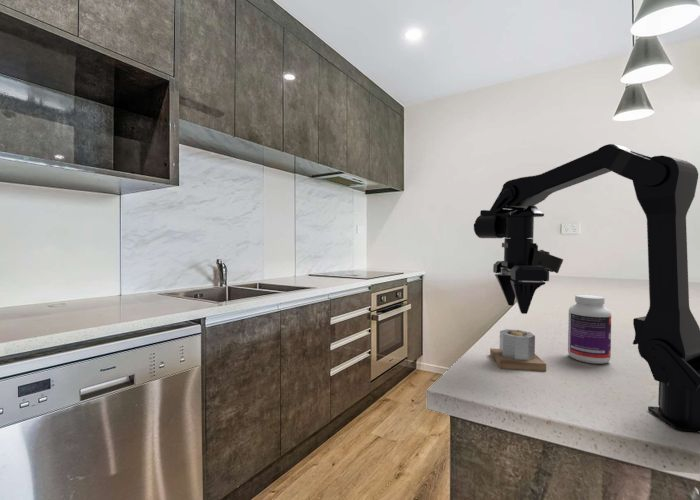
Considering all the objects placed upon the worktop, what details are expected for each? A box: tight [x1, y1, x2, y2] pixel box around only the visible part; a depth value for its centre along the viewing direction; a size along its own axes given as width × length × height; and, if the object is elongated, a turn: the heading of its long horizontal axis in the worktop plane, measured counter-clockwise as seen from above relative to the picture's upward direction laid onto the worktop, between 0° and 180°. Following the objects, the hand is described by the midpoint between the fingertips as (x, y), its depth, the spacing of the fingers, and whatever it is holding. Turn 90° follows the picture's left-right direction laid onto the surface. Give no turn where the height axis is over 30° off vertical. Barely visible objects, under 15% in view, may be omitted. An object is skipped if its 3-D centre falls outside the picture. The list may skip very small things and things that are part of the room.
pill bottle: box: [567, 294, 612, 365], centre depth 80 cm, size 8×8×14 cm
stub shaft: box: [489, 332, 547, 372], centre depth 78 cm, size 9×9×6 cm
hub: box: [499, 329, 536, 361], centre depth 78 cm, size 6×6×5 cm
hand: (517, 309), depth 77 cm, fingers open, 9 cm apart
